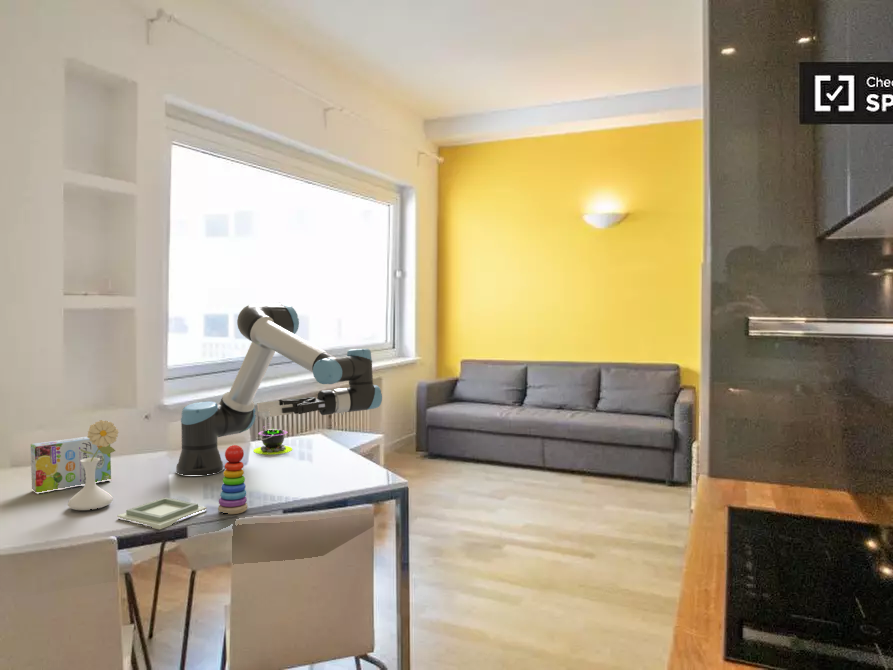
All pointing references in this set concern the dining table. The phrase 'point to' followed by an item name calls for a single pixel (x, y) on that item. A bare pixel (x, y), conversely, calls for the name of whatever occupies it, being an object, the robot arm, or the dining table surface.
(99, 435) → the flower in vase
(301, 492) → the dining table surface
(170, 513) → the base plate
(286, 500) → the dining table surface
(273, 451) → the toy cauldron
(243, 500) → the stacking toy
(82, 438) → the snack box
